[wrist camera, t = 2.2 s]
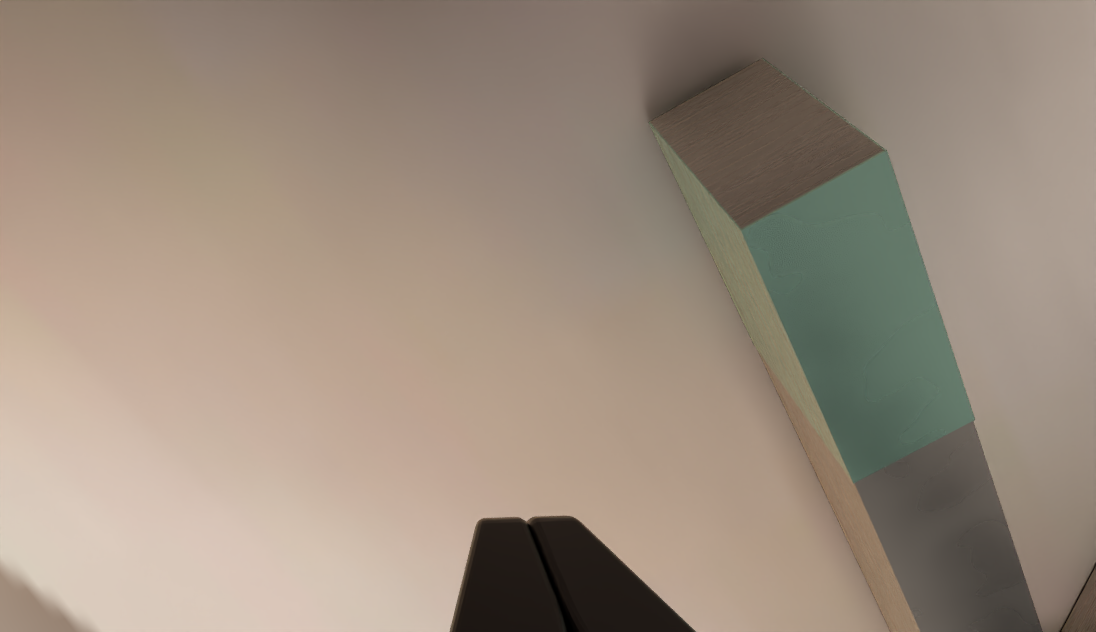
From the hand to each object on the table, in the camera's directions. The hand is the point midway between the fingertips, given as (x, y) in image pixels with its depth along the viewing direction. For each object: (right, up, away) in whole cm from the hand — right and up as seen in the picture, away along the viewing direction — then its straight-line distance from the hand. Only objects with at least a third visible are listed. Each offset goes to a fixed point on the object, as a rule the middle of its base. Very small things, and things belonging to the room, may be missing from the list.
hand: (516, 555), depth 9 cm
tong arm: (+7, -1, +12) cm, 14 cm away
